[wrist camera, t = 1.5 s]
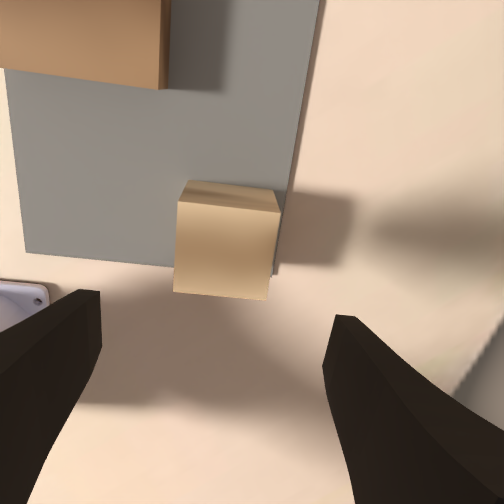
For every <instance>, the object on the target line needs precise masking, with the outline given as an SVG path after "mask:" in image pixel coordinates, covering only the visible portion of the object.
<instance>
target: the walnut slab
mask: <svg viewBox="0 0 504 504" xmlns="http://www.w3.org/2000/svg"><path fill="white" fill-rule="evenodd" d="M170 25H171V0H0V68H6V69H13V70H20V71H27V72H34V73H42V74H49V75H56V76H63V77H70V78H77V79H84V80H91V81H99V82H106V83H113V84H120V85H127V86H134V87H141V88H148V89H155V90H163V89H168V76H169V51H170Z"/></svg>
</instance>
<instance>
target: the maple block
mask: <svg viewBox="0 0 504 504" xmlns="http://www.w3.org/2000/svg"><path fill="white" fill-rule="evenodd" d="M280 215H281V212H280V209H279V206H278V203H277V200H276V198H275V195H274V192H273V190H270V189H262V188H254V187H245V186H237V185H229V184H221V183H212V182H204V181H196V180H188V182H187V184H186V186H185V188H184V190H183V192H182V194H181V196H180V198H179V200H178V207H177V225H176V243H175V261H174V279H173V292H179V293H190V294H201V295H211V296H222V297H232V298H243V299H253V300H264V301H266V297H267V291H268V286H269V280H270V274H271V268H272V262H273V256H274V250H275V245H276V239H277V233H278V227H279V221H280Z"/></svg>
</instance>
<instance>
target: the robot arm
mask: <svg viewBox="0 0 504 504" xmlns="http://www.w3.org/2000/svg"><path fill="white" fill-rule="evenodd" d="M36 298H39V299H40V300H42V302H39V301H38V300H37V299H36ZM101 348H102V332H101V308H100V291H93V290H83V289H78V290H76V291H74V292H72V293H70V294H68V295H67V296H65V297H63V298H61V299H60V300H58V301H56V302H54V303H53V304H51V305H50V303H49V293H48V290H47V288H46V287H45V286H43V285H40V284H31V283H20V282H9V281H0V504H27V502H28V499H29V497H30V495H31V492H32V490H33V488H34V485H35V483H36V481H37V478H38V476H39V474H40V471H41V469H42V467H43V464H44V462H45V460H46V458H47V456H48V454H49V452H50V450H51V448H52V446H53V444H54V442H55V440H56V439H57V437H58V435H59V433H60V431H61V430H62V428H63V426H64V424H65V422H66V421H67V419H68V417H69V415H70V413H71V412H72V410H73V408H74V406H75V404H76V402H77V401H78V399H79V397H80V395H81V393H82V391H83V390H84V388H85V386H86V384H87V382H88V380H89V378H90V377H91V374H92V372H93V369H94V367H95V364H96V362H97V359H98V356H99V354H100V351H101ZM322 368H323V375H324V382H325V388H326V394H327V399H328V402H329V406H330V409H331V413H332V416H333V420H334V423H335V427H336V430H337V433H338V437H339V440H340V444H341V447H342V450H343V454H344V457H345V461H346V464H347V468H348V472H349V476H350V480H351V485H352V490H353V495H354V500H355V504H504V431H503V430H502V429H500V428H498V427H497V426H495V425H493V424H492V423H490V422H488V421H487V420H485V419H483V418H482V417H480V416H479V415H477V414H475V413H474V412H472V411H470V410H469V409H467V408H466V407H464V406H463V405H462V404H460V403H459V402H457V401H456V400H455V399H453V398H452V397H450V396H449V395H447V394H446V393H445V392H443V391H442V390H440V389H439V388H438V387H436V386H435V385H434V384H432V383H431V382H430V381H429V380H427V379H426V378H425V377H424V376H422V375H421V374H420V373H419V372H417V371H416V370H415V369H414V368H412V367H411V366H410V365H409V364H408V363H407V362H405V361H404V360H403V359H402V358H401V357H400V356H399V355H397V354H396V353H395V352H394V351H393V350H392V349H391V348H390V347H389V346H387V345H386V344H385V343H384V342H383V341H382V340H381V339H380V338H379V337H378V336H377V335H376V334H374V333H373V332H372V331H371V330H370V329H369V328H368V327H367V326H366V325H365V324H364V323H362V322H361V321H360V320H359V319H358V318H356V317H355V316H347V315H337V314H336V315H335V319H334V323H333V327H332V331H331V335H330V338H329V342H328V346H327V350H326V354H325V358H324V361H323V365H322Z"/></svg>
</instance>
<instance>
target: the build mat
mask: <svg viewBox="0 0 504 504" xmlns="http://www.w3.org/2000/svg"><path fill="white" fill-rule="evenodd" d="M319 1H320V0H171V25H170V51H169V76H168V89H163V90H155V89H148V88H141V87H134V86H127V85H120V84H113V83H106V82H99V81H91V80H84V79H77V78H70V77H63V76H56V75H49V74H42V73H34V72H27V71H20V70H13V69H6V68H4V72H5V81H6V89H7V98H8V106H9V115H10V123H11V132H12V140H13V148H14V157H15V165H16V174H17V182H18V191H19V199H20V208H21V216H22V224H23V233H24V241H25V250H26V253H34V254H44V255H54V256H64V257H74V258H84V259H94V260H104V261H114V262H124V263H134V264H143V265H153V266H163V267H173V268H174V261H175V243H176V225H177V207H178V200H179V198H180V196H181V194H182V192H183V190H184V188H185V186H186V184H187V182H188V180H196V181H204V182H212V183H221V184H229V185H237V186H245V187H254V188H262V189H270V190H273V192H274V195H275V198H276V200H277V203H278V206H279V209H280V212H281V215H280V221H279V227H278V233H277V239H276V245H275V250H274V256H273V262H272V268H271V274H270V277H272V273H273V267H274V262H275V256H276V250H277V244H278V238H279V233H280V227H281V221H282V215H283V209H284V204H285V198H286V192H287V186H288V180H289V175H290V169H291V163H292V157H293V151H294V146H295V140H296V134H297V128H298V122H299V117H300V111H301V105H302V99H303V94H304V88H305V82H306V76H307V70H308V65H309V59H310V53H311V47H312V41H313V36H314V30H315V24H316V18H317V12H318V7H319Z"/></svg>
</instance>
